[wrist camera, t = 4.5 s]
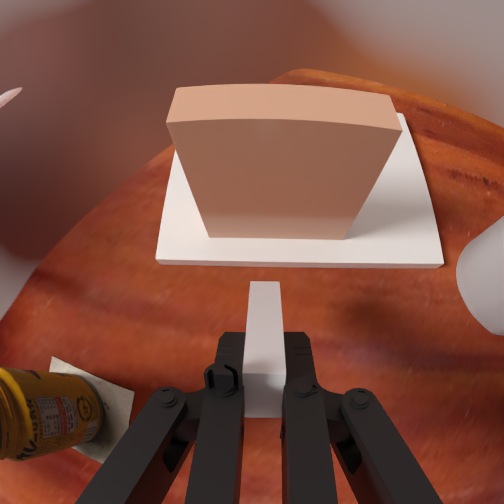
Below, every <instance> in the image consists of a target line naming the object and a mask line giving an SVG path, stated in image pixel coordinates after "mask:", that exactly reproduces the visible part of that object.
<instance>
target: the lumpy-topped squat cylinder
mask: <svg viewBox="0 0 504 504" xmlns="http://www.w3.org/2000/svg"><path fill="white" fill-rule="evenodd" d="M456 278H457V284H458V288H459V291H460V293H461V296H462V298H463V300H464V302H465V304H466V306H467V307H468V309H469V311H470V312H471V314H472V315H473V316H474V317H475V318H476V319H477V320H478V321H479V322H480V323H481V324H482V325H483V326H484V327H485V328H486V329H487V330H488V331H490V332H491V333H493V334H497V335H503V336H504V216H503V217H502V218H500V219H499V220H498V221H497V222H495V223H494V224H493V225H491V226H490V227H489V228H488V229H486V230H485V231H484V232H482V233H481V234H480V235H479V236H477V237H476V238H475V239H473V240H472V241H471V242H469V243H468V244H467V245H466V247H465V248H464V250H463V251H462V253H461V255H460V257H459V260H458V263H457V268H456Z"/></svg>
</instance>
